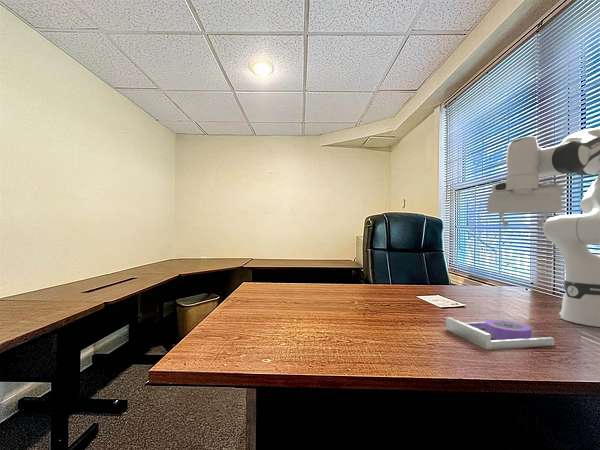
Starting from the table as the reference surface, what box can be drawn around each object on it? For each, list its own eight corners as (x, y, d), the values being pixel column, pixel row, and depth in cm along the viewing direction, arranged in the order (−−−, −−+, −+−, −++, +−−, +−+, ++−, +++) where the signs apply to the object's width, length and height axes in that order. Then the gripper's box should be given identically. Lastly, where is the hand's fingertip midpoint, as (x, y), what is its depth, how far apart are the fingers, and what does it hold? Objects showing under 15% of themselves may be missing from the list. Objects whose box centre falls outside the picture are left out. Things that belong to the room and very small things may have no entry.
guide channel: (504, 326, 103) (504, 315, 103) (554, 345, 86) (554, 331, 86) (446, 329, 99) (446, 317, 99) (486, 349, 82) (486, 334, 83)
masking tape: (476, 332, 97) (476, 320, 97) (504, 329, 100) (504, 318, 101) (511, 345, 86) (511, 332, 86) (541, 342, 89) (541, 329, 89)
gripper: (562, 183, 98) (562, 226, 98) (488, 188, 111) (488, 226, 110) (564, 181, 93) (564, 226, 93) (486, 186, 106) (486, 226, 105)
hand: (522, 226), depth 102 cm, fingers open, 8 cm apart
